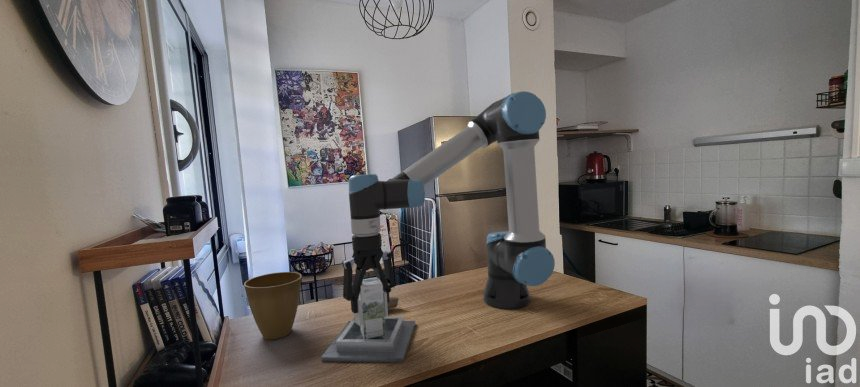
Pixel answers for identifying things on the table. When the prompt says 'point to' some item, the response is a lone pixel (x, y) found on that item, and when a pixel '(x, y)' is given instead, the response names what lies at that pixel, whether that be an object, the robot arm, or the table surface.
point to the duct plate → (371, 343)
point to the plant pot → (274, 302)
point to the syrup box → (372, 308)
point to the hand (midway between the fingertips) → (371, 319)
